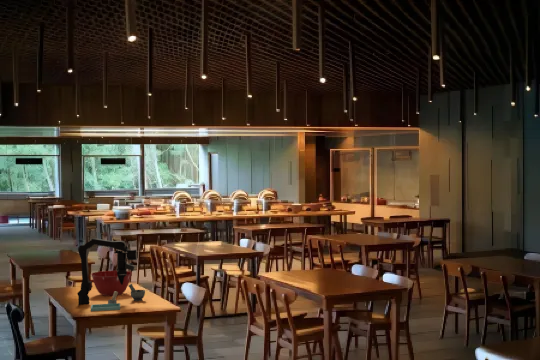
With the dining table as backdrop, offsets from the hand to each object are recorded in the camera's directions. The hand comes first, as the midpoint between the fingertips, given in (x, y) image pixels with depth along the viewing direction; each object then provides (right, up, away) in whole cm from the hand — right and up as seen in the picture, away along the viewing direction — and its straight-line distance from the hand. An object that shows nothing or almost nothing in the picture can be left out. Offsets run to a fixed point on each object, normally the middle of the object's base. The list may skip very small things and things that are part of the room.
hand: (121, 283), depth 472 cm
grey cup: (-4, -14, -8) cm, 16 cm away
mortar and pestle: (+8, -14, +9) cm, 18 cm away
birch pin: (-4, -13, -8) cm, 16 cm away
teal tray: (-6, -14, -18) cm, 24 cm away
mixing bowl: (-14, -13, +36) cm, 41 cm away
